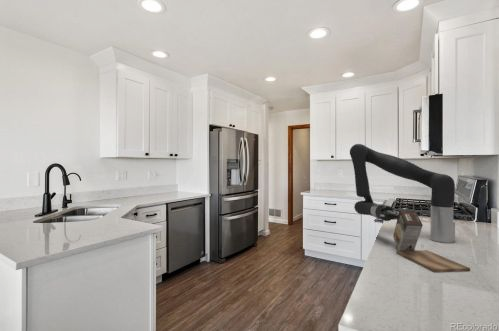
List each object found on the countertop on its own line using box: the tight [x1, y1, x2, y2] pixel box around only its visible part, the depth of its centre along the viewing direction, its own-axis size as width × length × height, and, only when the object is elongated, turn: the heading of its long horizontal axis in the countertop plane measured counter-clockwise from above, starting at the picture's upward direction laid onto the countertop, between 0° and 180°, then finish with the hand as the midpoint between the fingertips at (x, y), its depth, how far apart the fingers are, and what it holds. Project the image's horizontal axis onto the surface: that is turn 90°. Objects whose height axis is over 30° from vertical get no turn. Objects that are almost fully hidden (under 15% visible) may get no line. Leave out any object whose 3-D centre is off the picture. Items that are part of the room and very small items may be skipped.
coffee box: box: [392, 209, 424, 251], centre depth 113 cm, size 9×6×16 cm
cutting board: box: [395, 249, 471, 273], centre depth 102 cm, size 14×20×1 cm
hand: (405, 218), depth 116 cm, fingers closed
